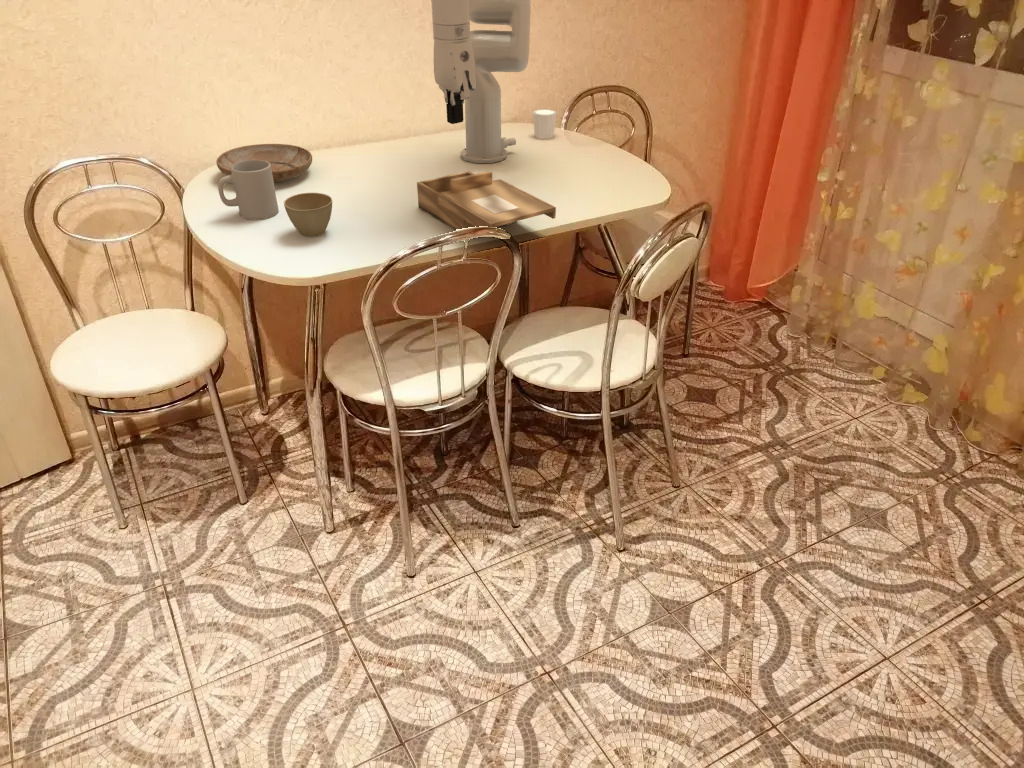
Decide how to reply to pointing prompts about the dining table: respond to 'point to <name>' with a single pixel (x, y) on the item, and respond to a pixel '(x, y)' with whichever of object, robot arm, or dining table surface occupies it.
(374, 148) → the dining table surface
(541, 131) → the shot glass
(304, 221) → the flower pot
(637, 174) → the dining table surface
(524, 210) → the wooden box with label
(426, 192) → the wooden box base
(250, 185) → the mug
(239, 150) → the shallow wooden bowl
